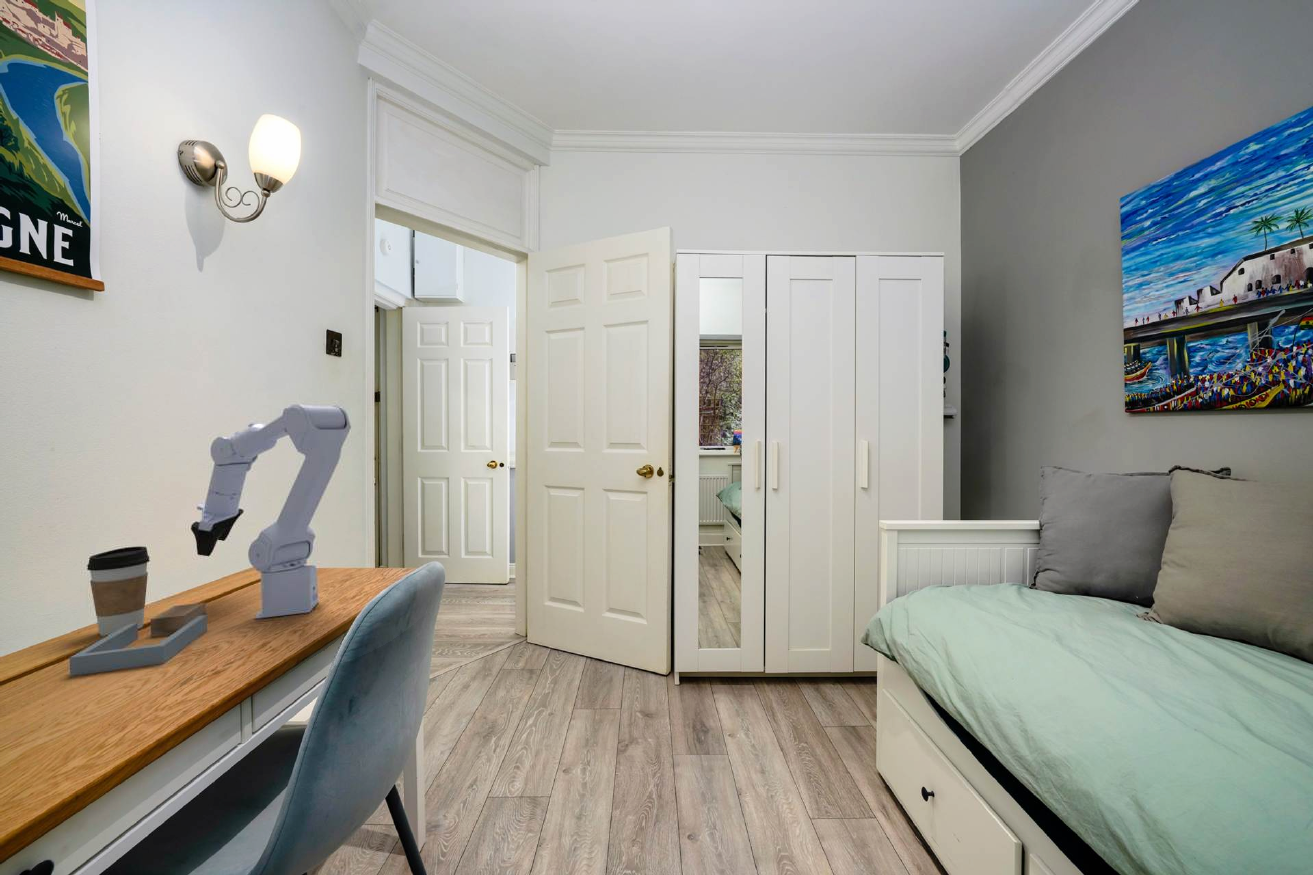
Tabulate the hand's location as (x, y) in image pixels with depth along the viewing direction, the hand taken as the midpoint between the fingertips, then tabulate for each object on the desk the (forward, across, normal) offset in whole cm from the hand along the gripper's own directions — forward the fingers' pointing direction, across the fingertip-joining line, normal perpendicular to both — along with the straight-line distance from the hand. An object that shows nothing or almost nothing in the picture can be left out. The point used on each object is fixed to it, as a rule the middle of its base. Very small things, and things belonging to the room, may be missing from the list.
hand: (211, 546), depth 118 cm
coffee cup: (+11, +17, -6) cm, 21 cm away
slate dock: (+4, +31, +3) cm, 31 cm away
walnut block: (+7, +20, +3) cm, 21 cm away
